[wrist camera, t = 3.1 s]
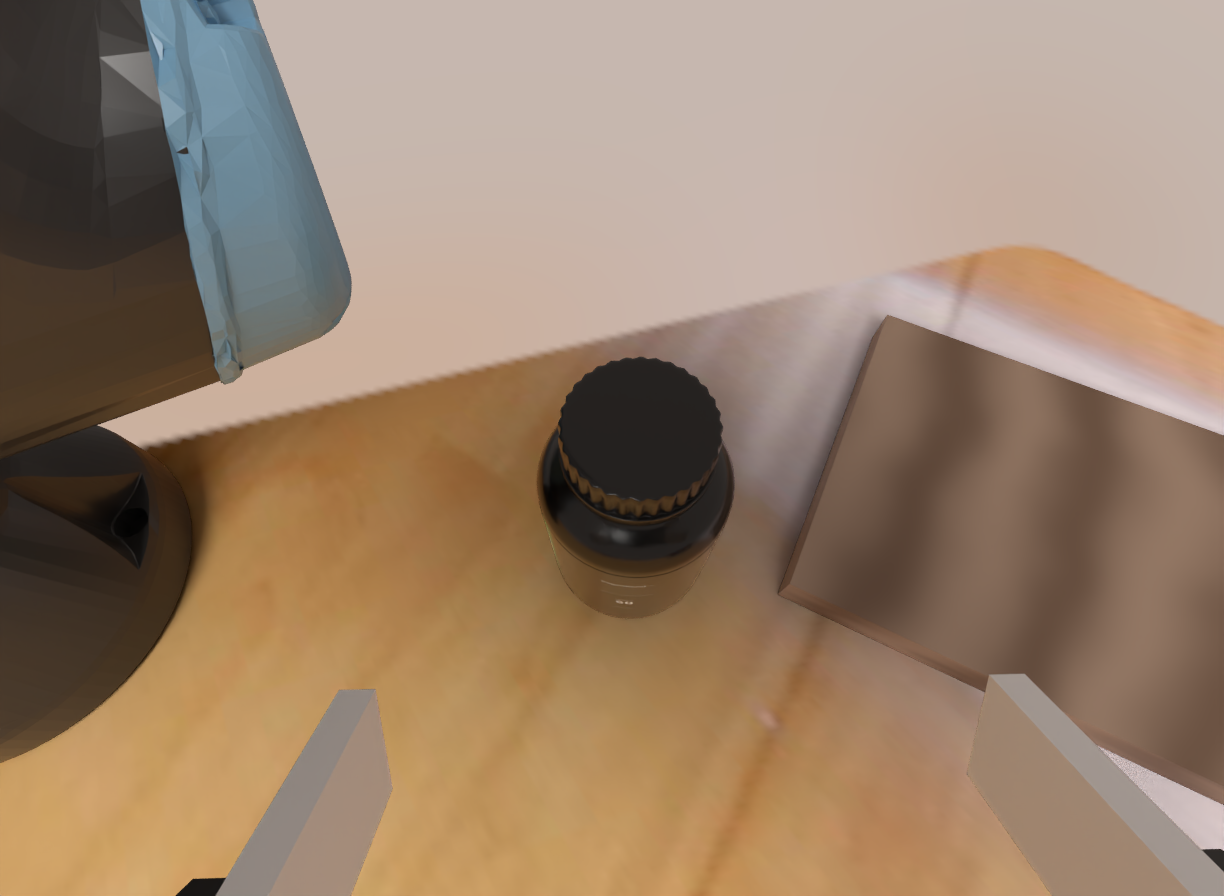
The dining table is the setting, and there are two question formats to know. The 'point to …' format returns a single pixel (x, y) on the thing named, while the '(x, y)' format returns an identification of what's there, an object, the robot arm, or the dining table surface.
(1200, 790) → the walnut board
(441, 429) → the dining table surface
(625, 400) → the supplement bottle
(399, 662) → the dining table surface
